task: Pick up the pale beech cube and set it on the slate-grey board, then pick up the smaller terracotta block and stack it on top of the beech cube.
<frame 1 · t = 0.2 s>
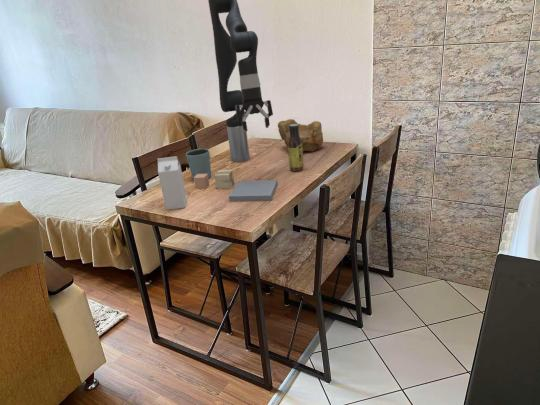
hand: (256, 129, 159), 22 cm above the table, tool pointing down, fingers open, 8 cm apart
beech cube: (225, 186, 167), on the table
sauce bottle: (296, 169, 178), on the table
teal cup: (201, 178, 180), on the table
terracotta block: (202, 186, 169), on the table
base board: (254, 192, 157), on the table
milk carton: (176, 205, 153), on the table
rough brown rock: (298, 151, 205), on the table
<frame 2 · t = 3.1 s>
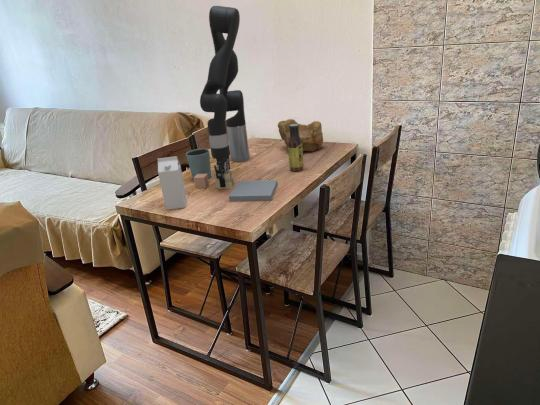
hand: (225, 184, 167), 1 cm above the table, tool pointing down, fingers closed on beech cube, 6 cm apart
beech cube: (225, 186, 167), on the table, touching gripper
everything else where it was.
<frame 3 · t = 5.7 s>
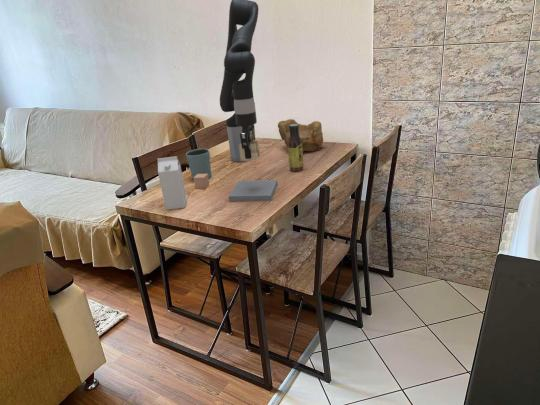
hand: (250, 155, 151), 15 cm above the table, tool pointing down, fingers closed on beech cube, 6 cm apart
beech cube: (250, 158, 152), point 14 cm above the table, touching gripper
everything else where it was.
when the fingers open (4 cm above the table, at t = 8.2 s): beech cube stays where it is, resting on base board.
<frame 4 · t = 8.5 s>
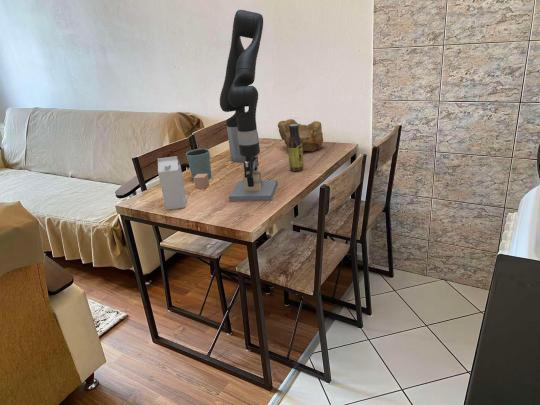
hand: (253, 182, 155), 4 cm above the table, tool pointing down, fingers open, 8 cm apart
beech cube: (253, 187, 156), point 2 cm above the table, touching base board
everything else where it was.
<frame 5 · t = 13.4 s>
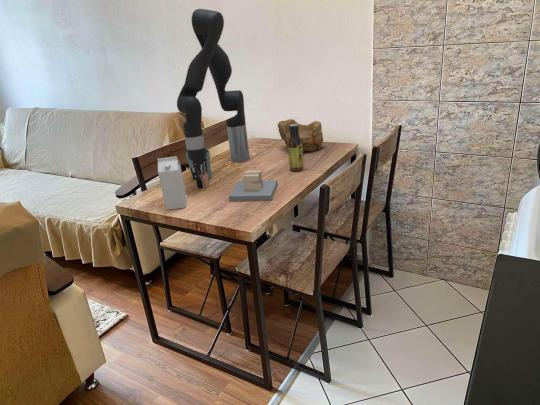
hand: (202, 185, 169), 0 cm above the table, tool pointing down, fingers closed on terracotta block, 4 cm apart
terracotta block: (202, 186, 169), on the table, touching gripper
everything else where it was.
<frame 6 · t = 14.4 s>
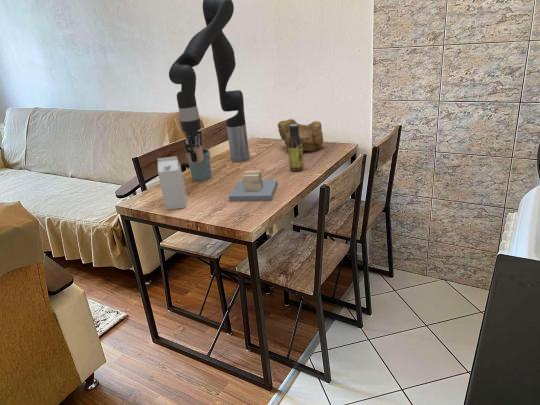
hand: (196, 159, 165), 12 cm above the table, tool pointing down, fingers closed on terracotta block, 4 cm apart
terracotta block: (196, 160, 165), point 11 cm above the table, touching gripper
everything else where it was.
when the fingers open (9 cm above the table, at t = 18.1 s): terracotta block stays where it is, resting on beech cube.
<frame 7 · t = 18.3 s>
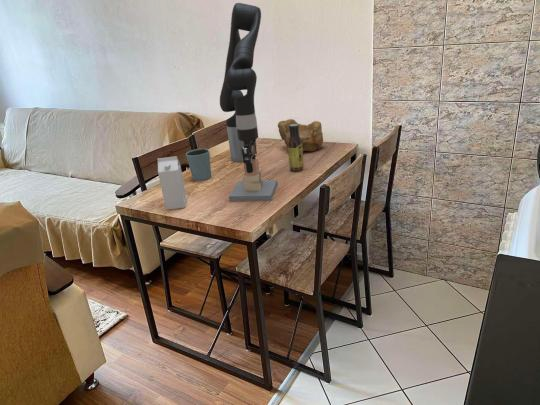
hand: (251, 169, 153), 10 cm above the table, tool pointing down, fingers open, 6 cm apart
beech cube: (253, 187, 156), point 2 cm above the table, touching base board, terracotta block
terracotta block: (252, 173, 154), point 8 cm above the table, touching beech cube
everything else where it was.
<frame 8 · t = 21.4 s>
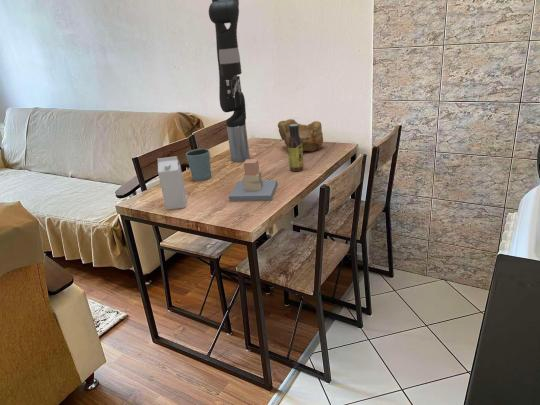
hand: (235, 106, 155), 32 cm above the table, tool pointing down, fingers open, 8 cm apart
nothing on the table moved.
at the end: beech cube 0.1 cm off-centre on the base board, point 2.0 cm above the base board's base; terracotta block 0.2 cm off-centre on the beech cube, point 6.0 cm above the beech cube's base; terracotta block tilted 0° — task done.
